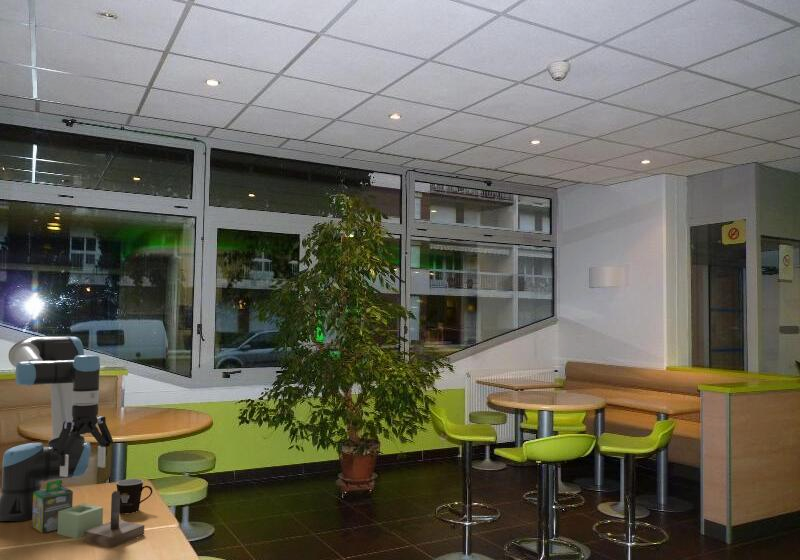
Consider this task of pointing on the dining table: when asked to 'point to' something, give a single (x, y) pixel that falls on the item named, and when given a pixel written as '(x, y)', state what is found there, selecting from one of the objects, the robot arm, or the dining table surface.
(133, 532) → the rod stand
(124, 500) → the coffee mug
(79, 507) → the green square socket block
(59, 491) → the chalk box
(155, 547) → the dining table surface
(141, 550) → the dining table surface
